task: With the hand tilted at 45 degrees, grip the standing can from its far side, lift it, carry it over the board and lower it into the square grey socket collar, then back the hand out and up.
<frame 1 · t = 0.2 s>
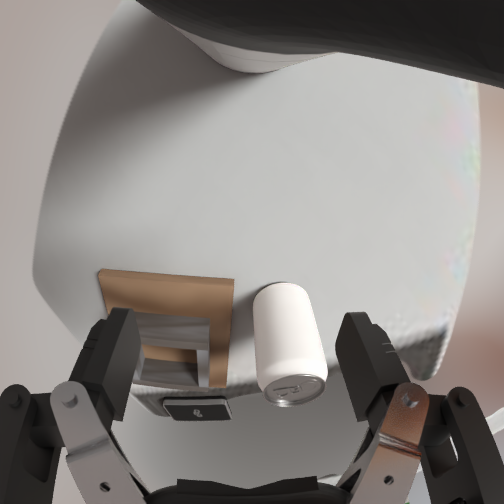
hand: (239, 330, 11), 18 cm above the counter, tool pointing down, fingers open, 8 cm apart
external hard drive: (199, 402, 47), on the counter
can: (280, 301, 34), on the counter
socket board: (171, 336, 36), on the counter
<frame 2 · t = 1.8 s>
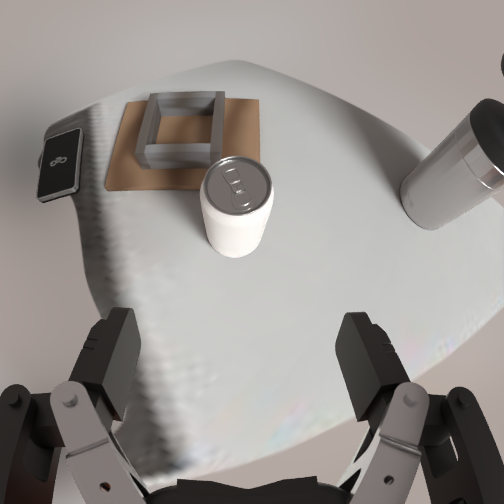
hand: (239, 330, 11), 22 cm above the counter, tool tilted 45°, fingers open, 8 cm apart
external hard drive: (64, 169, 37), on the counter
can: (234, 232, 36), on the counter
socket board: (185, 142, 38), on the counter
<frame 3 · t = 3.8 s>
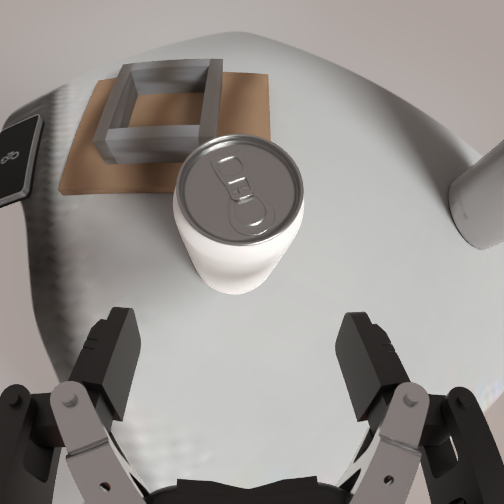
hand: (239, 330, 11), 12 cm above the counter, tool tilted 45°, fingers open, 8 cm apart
external hard drive: (18, 167, 26), on the counter
can: (233, 256, 24), on the counter
socket board: (168, 127, 27), on the counter
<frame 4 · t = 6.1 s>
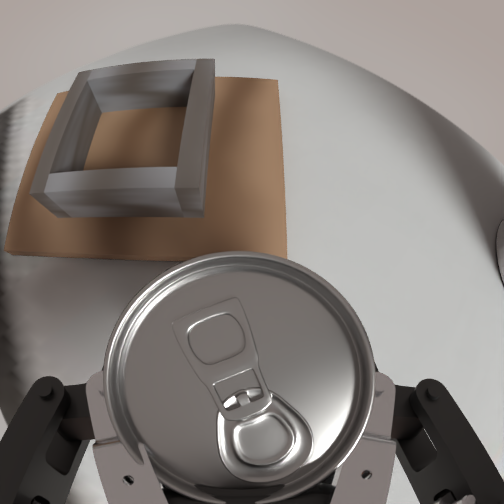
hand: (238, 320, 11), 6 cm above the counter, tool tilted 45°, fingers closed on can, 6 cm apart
can: (233, 354, 17), on the counter, touching gripper
socket board: (140, 158, 20), on the counter
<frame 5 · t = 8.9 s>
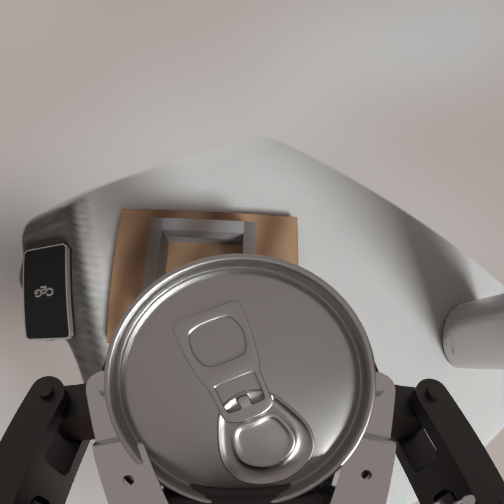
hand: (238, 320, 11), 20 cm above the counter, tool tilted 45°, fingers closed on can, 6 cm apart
external hard drive: (52, 295, 30), on the counter
can: (233, 355, 17), point 14 cm above the counter, touching gripper
socket board: (203, 281, 32), on the counter
when the fingers open (9 cm above the counter, at t = 11.7 s): can drops 1 cm, resting on socket board.
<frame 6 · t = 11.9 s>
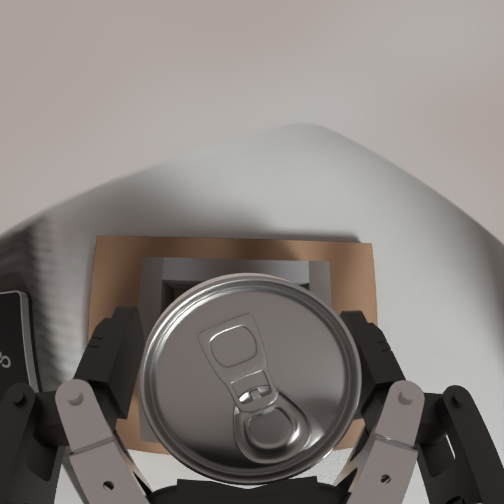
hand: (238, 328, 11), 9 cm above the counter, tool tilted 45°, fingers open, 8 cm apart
external hard drive: (14, 361, 18), on the counter
can: (237, 355, 18), point 1 cm above the counter, touching socket board
socket board: (233, 351, 19), on the counter
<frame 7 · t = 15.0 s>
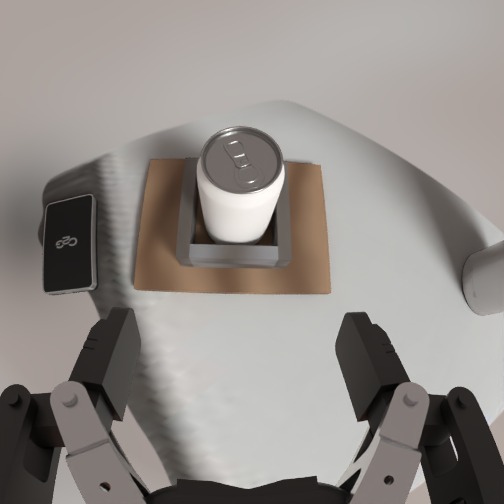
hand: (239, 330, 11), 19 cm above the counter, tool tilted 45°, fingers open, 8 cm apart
external hard drive: (74, 248, 31), on the counter
can: (236, 222, 31), point 1 cm above the counter, touching socket board
socket board: (233, 224, 32), on the counter
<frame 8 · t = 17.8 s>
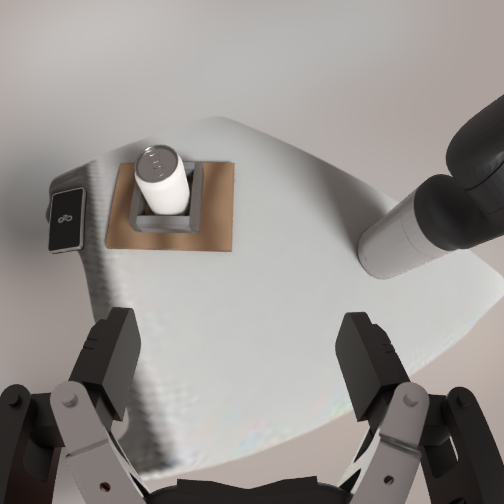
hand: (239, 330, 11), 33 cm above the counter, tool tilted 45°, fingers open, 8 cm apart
external hard drive: (70, 223, 45), on the counter
can: (171, 203, 46), point 1 cm above the counter, touching socket board
socket board: (171, 205, 47), on the counter
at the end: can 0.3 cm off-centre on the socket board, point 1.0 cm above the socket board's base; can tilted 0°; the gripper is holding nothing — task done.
